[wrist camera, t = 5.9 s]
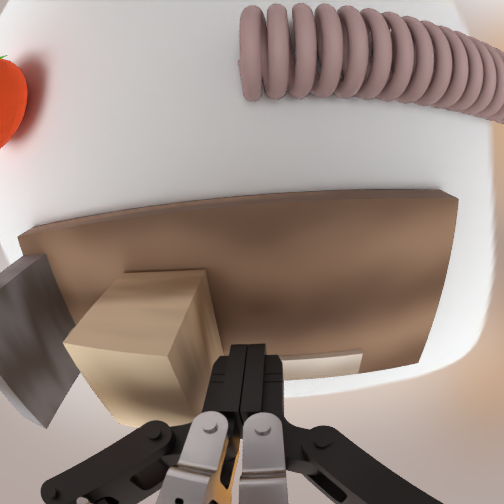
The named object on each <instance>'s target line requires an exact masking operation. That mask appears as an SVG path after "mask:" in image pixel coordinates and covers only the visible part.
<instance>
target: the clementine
mask: <svg viewBox="0 0 504 504" xmlns="http://www.w3.org/2000/svg"><path fill="white" fill-rule="evenodd" d="M6 56H7V55H6ZM3 57H5V56H2V57H0V148H1V147H3V146H4V145H5V144H6V143H7V142H8V141H9V140H10V139H11V137H12V136H13V135H14V133H15V132H16V130H17V129H18V127H19V125H20V123H21V122H22V119H23V116H24V114H25V109H26V105H27V97H28V87H27V83H26V79H25V77H24V75H23V73H22V71H21V69H20V68H19V67H17V66H16V65H15V64H14V63H12V62H11V61H8V60H4V59H1V58H3Z"/></svg>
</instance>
